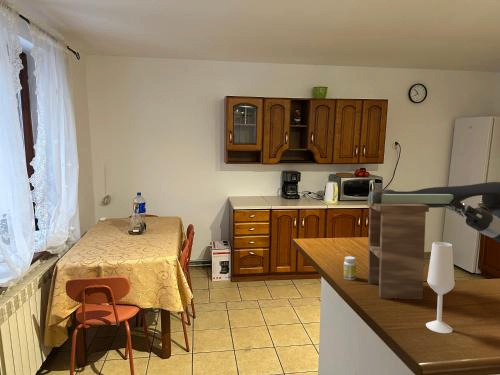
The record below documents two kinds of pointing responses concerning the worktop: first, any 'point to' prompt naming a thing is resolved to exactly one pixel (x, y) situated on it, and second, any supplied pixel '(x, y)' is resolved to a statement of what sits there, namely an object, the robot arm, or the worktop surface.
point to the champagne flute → (440, 280)
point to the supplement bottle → (349, 268)
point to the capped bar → (409, 198)
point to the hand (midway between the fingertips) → (444, 199)
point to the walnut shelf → (397, 249)
